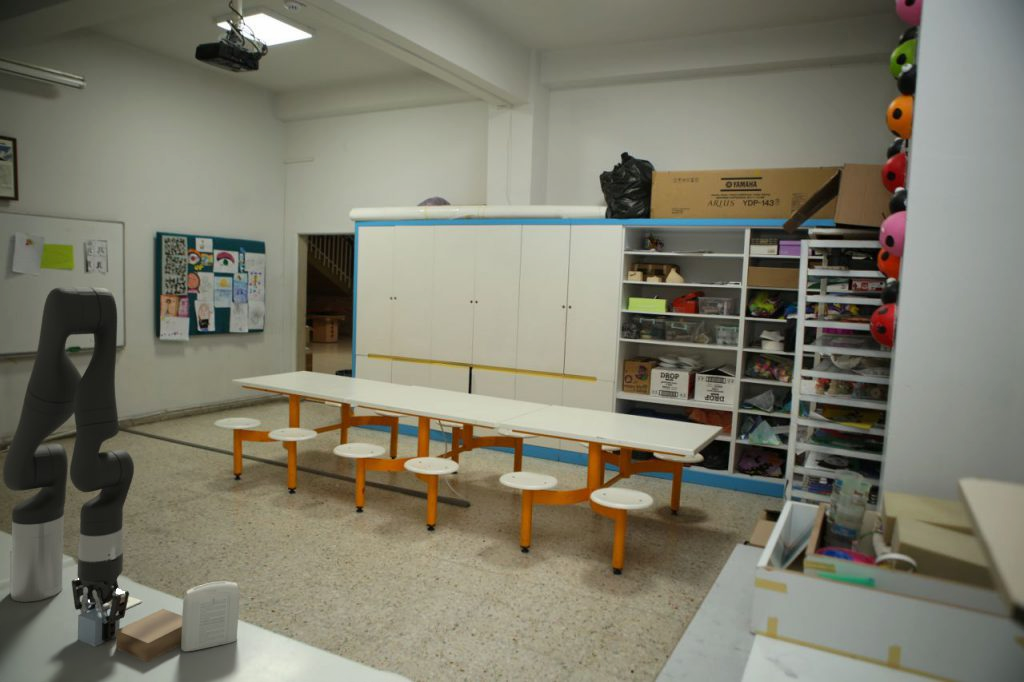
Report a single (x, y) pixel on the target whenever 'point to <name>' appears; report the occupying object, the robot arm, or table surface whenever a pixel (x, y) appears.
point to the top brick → (92, 627)
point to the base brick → (151, 635)
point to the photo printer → (210, 615)
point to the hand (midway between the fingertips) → (98, 634)
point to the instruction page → (129, 602)
